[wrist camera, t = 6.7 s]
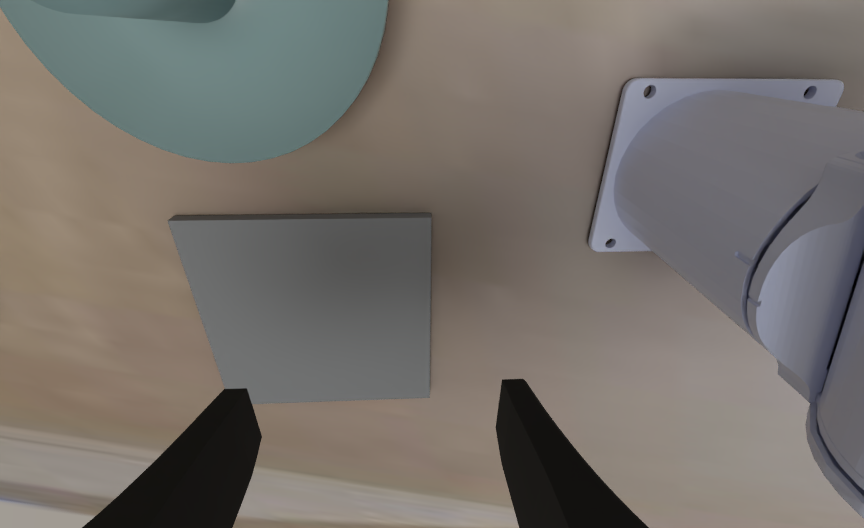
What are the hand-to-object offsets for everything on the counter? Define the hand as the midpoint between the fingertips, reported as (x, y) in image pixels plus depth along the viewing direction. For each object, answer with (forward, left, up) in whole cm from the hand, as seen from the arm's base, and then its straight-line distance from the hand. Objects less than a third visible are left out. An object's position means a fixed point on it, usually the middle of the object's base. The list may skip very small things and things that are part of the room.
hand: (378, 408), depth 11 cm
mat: (+4, +4, -10) cm, 11 cm away
